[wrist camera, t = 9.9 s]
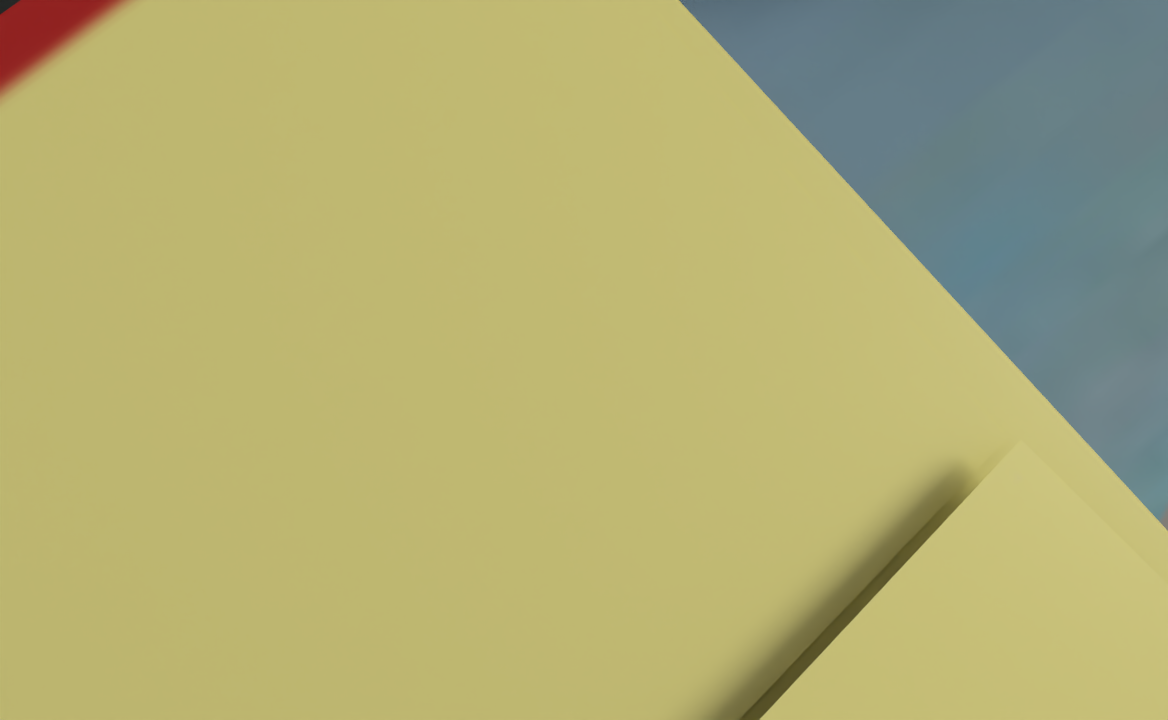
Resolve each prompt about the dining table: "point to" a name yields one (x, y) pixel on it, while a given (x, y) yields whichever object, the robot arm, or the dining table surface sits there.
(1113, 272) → the dining table surface
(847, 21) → the dining table surface
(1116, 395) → the dining table surface
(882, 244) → the baking soda box
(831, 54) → the dining table surface
